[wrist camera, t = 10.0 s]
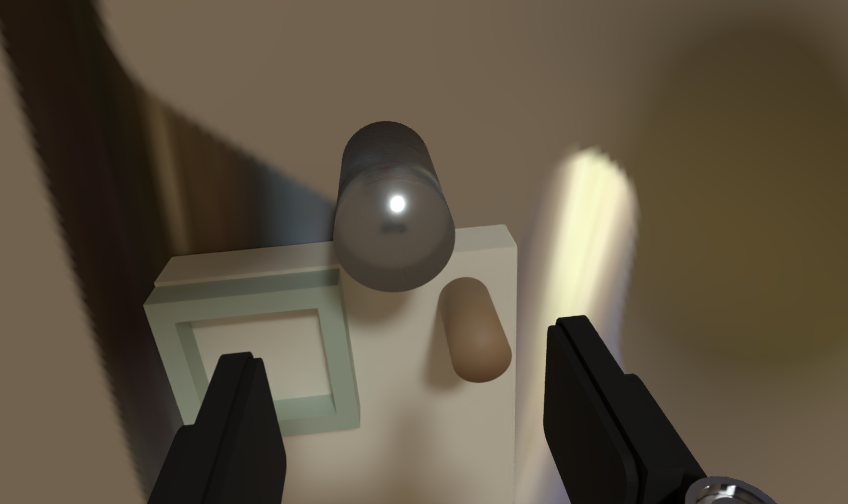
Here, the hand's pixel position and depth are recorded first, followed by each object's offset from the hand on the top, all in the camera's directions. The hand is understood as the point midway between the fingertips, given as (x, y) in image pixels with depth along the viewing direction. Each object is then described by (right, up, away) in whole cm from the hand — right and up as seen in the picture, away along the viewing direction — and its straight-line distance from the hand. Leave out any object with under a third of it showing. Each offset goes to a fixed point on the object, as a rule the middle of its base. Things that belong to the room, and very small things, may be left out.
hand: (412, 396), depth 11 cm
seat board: (-4, -9, +21) cm, 24 cm away
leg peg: (-1, +7, +14) cm, 16 cm away
